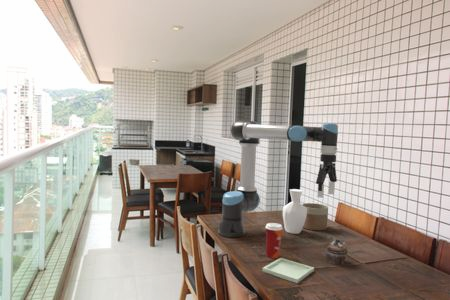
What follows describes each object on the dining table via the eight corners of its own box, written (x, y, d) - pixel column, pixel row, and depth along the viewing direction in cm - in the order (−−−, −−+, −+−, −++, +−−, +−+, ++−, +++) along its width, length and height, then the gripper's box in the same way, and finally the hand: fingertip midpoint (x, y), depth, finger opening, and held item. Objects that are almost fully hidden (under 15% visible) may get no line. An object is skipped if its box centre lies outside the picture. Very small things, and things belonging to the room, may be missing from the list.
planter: (329, 227, 217) (331, 205, 216) (322, 232, 203) (324, 210, 202) (305, 222, 225) (307, 202, 224) (297, 227, 212) (298, 206, 211)
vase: (291, 236, 193) (294, 192, 192) (276, 229, 206) (279, 188, 205) (310, 233, 200) (313, 191, 199) (295, 227, 213) (297, 187, 211)
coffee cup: (281, 260, 157) (282, 228, 156) (263, 258, 158) (264, 226, 157) (281, 253, 165) (283, 223, 164) (264, 251, 167) (266, 221, 166)
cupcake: (327, 256, 165) (328, 235, 164) (348, 260, 160) (349, 239, 160) (323, 262, 156) (324, 241, 156) (345, 267, 152) (346, 245, 151)
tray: (262, 271, 143) (262, 267, 143) (280, 261, 156) (280, 257, 155) (297, 283, 133) (297, 279, 133) (313, 271, 146) (314, 267, 146)
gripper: (325, 155, 159) (322, 200, 161) (344, 154, 179) (342, 193, 180) (310, 154, 164) (308, 197, 165) (331, 152, 183) (328, 191, 185)
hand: (325, 195), depth 173 cm, fingers open, 13 cm apart
